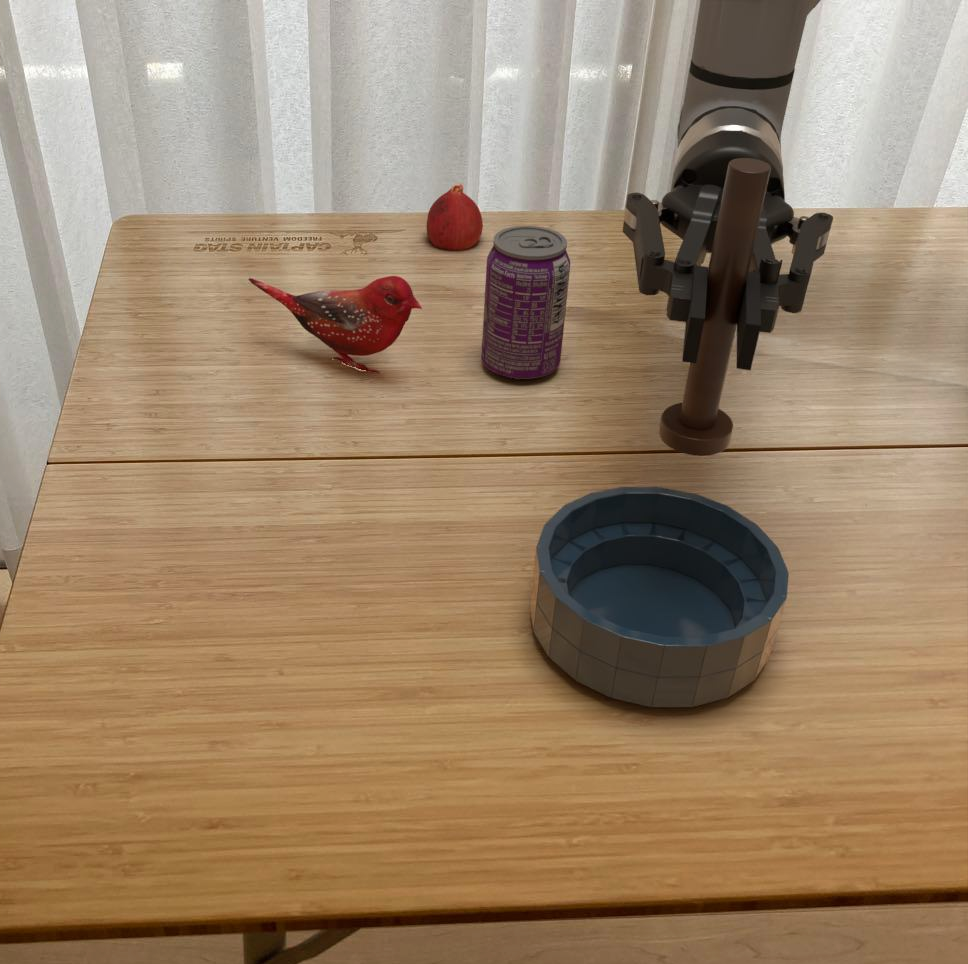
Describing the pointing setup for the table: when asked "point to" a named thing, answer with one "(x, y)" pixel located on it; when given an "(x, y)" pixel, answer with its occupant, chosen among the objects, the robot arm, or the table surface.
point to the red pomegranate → (454, 221)
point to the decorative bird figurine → (352, 315)
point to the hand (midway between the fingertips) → (720, 343)
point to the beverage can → (525, 302)
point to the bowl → (657, 595)
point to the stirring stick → (719, 315)
